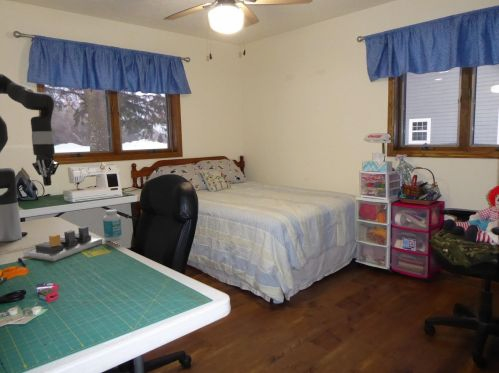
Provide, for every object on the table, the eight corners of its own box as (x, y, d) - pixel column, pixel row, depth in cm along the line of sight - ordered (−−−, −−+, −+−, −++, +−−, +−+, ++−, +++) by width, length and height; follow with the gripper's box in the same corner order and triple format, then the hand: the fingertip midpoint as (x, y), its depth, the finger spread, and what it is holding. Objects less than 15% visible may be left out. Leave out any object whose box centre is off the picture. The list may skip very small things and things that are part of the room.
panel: (23, 256, 141) (21, 236, 140) (74, 239, 163) (72, 222, 162) (54, 261, 134) (52, 240, 133) (102, 243, 156) (101, 225, 155)
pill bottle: (116, 242, 157) (113, 212, 155) (101, 241, 159) (98, 212, 157) (125, 237, 164) (123, 208, 163) (110, 236, 166) (108, 208, 164)
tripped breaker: (49, 245, 139) (48, 236, 139) (56, 243, 142) (55, 234, 141) (54, 246, 138) (53, 236, 138) (60, 244, 141) (59, 234, 141)
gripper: (23, 143, 142) (28, 186, 145) (46, 143, 137) (51, 187, 140) (40, 143, 149) (44, 183, 152) (63, 142, 144) (67, 184, 147)
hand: (47, 185), depth 146 cm, fingers closed
